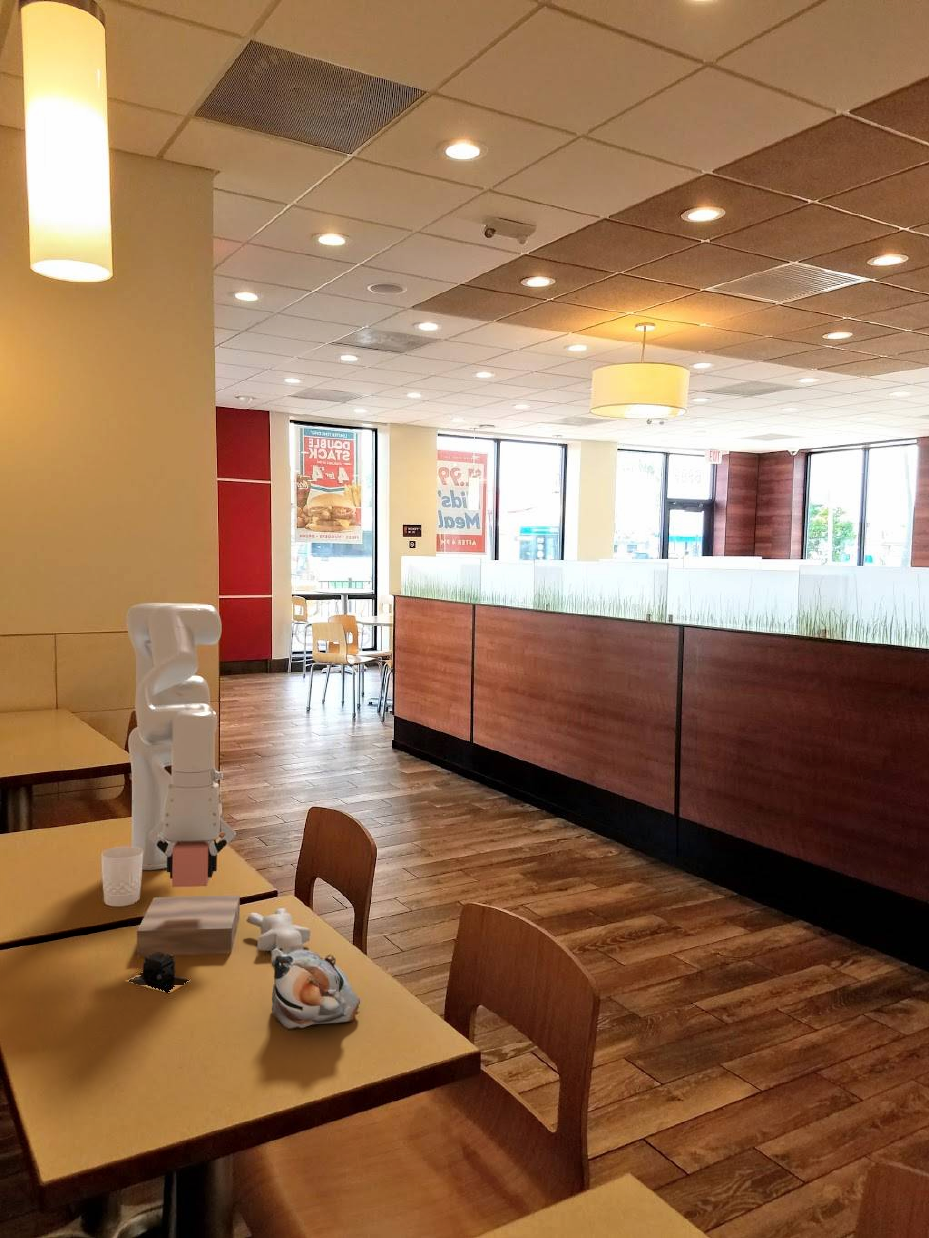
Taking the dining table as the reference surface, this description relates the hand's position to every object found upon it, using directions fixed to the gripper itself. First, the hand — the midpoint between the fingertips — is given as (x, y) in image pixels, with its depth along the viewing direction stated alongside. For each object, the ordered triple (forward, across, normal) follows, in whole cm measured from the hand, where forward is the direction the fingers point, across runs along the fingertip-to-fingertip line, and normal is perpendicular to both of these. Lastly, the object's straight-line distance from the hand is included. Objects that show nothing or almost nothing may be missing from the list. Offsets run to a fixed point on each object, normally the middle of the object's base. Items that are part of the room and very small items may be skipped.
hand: (192, 874), depth 169 cm
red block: (+1, 0, 0) cm, 1 cm away
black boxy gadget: (+13, +3, +17) cm, 22 cm away
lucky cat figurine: (+12, -23, +32) cm, 41 cm away
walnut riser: (+12, 0, 0) cm, 12 cm away
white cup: (+12, +16, -19) cm, 28 cm away
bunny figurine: (+12, -16, +4) cm, 21 cm away
